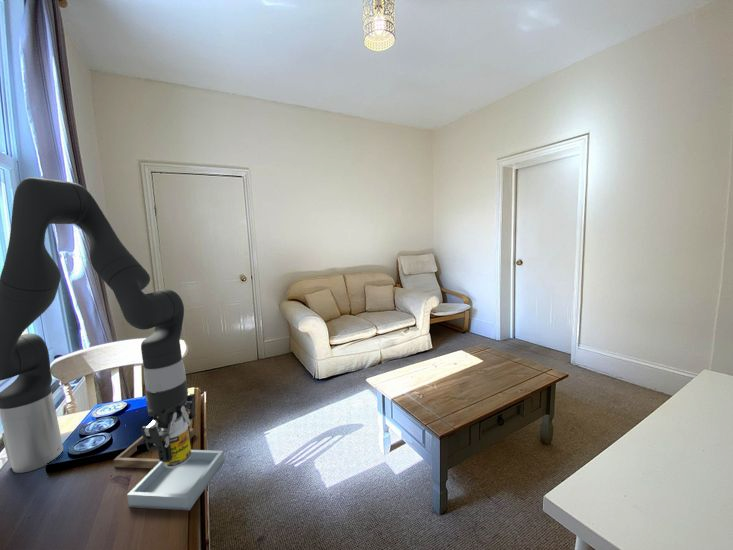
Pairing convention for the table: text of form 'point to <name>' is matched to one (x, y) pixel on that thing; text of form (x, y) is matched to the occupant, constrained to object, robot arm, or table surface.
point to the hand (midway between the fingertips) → (176, 450)
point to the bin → (177, 482)
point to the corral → (128, 462)
